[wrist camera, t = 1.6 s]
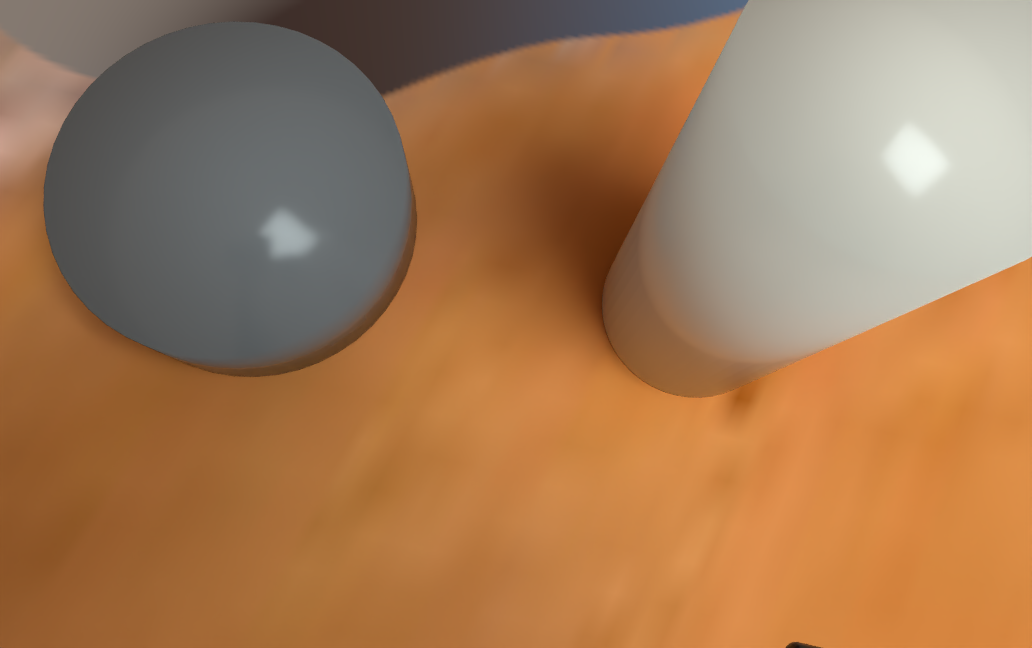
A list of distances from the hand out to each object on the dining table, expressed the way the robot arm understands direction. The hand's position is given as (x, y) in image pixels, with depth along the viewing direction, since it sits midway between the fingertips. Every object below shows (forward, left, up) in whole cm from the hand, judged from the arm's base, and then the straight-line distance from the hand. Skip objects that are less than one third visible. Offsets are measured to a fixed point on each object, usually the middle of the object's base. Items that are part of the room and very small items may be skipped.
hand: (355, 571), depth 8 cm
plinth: (+8, -6, -13) cm, 17 cm away
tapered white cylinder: (-5, -8, -13) cm, 16 cm away
